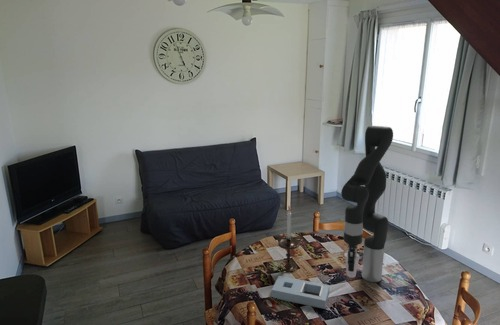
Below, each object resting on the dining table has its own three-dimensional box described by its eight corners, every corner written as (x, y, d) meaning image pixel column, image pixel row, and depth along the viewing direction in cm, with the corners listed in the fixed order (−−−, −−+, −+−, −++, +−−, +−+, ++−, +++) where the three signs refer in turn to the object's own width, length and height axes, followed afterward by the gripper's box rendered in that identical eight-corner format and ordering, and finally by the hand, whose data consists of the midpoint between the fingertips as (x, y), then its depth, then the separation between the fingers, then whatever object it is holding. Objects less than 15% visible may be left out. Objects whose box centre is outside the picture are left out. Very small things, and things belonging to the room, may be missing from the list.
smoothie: (355, 270, 151) (357, 241, 148) (361, 279, 145) (362, 249, 142) (341, 271, 151) (342, 242, 148) (346, 279, 145) (347, 249, 141)
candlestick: (292, 275, 172) (293, 210, 164) (273, 269, 178) (274, 205, 170) (302, 266, 180) (304, 203, 172) (284, 260, 187) (285, 199, 178)
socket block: (278, 283, 166) (278, 275, 165) (329, 293, 158) (329, 284, 157) (271, 297, 155) (271, 289, 154) (325, 309, 147) (325, 300, 146)
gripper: (345, 222, 151) (344, 257, 155) (342, 237, 138) (340, 274, 142) (363, 224, 148) (361, 259, 152) (361, 239, 135) (359, 277, 139)
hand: (351, 266), depth 147 cm, fingers closed on smoothie, 6 cm apart
